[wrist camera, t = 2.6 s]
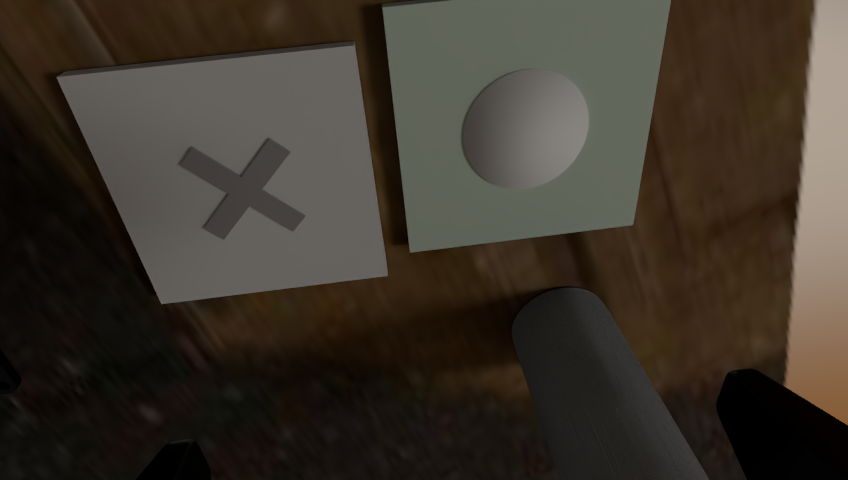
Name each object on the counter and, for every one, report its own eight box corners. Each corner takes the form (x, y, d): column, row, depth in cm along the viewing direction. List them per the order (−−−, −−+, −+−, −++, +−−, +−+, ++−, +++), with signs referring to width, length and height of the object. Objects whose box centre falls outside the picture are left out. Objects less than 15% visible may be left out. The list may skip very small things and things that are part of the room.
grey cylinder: (563, 369, 27) (661, 598, 18) (491, 340, 25) (561, 576, 16) (626, 307, 25) (768, 530, 16) (552, 271, 23) (667, 498, 14)
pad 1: (166, 294, 22) (160, 305, 21) (65, 71, 16) (54, 78, 16) (387, 266, 22) (387, 277, 21) (354, 40, 17) (354, 46, 16)
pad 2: (408, 243, 21) (410, 254, 21) (381, 3, 16) (382, 8, 16) (626, 217, 22) (634, 226, 21) (665, -26, 17) (676, -23, 16)
